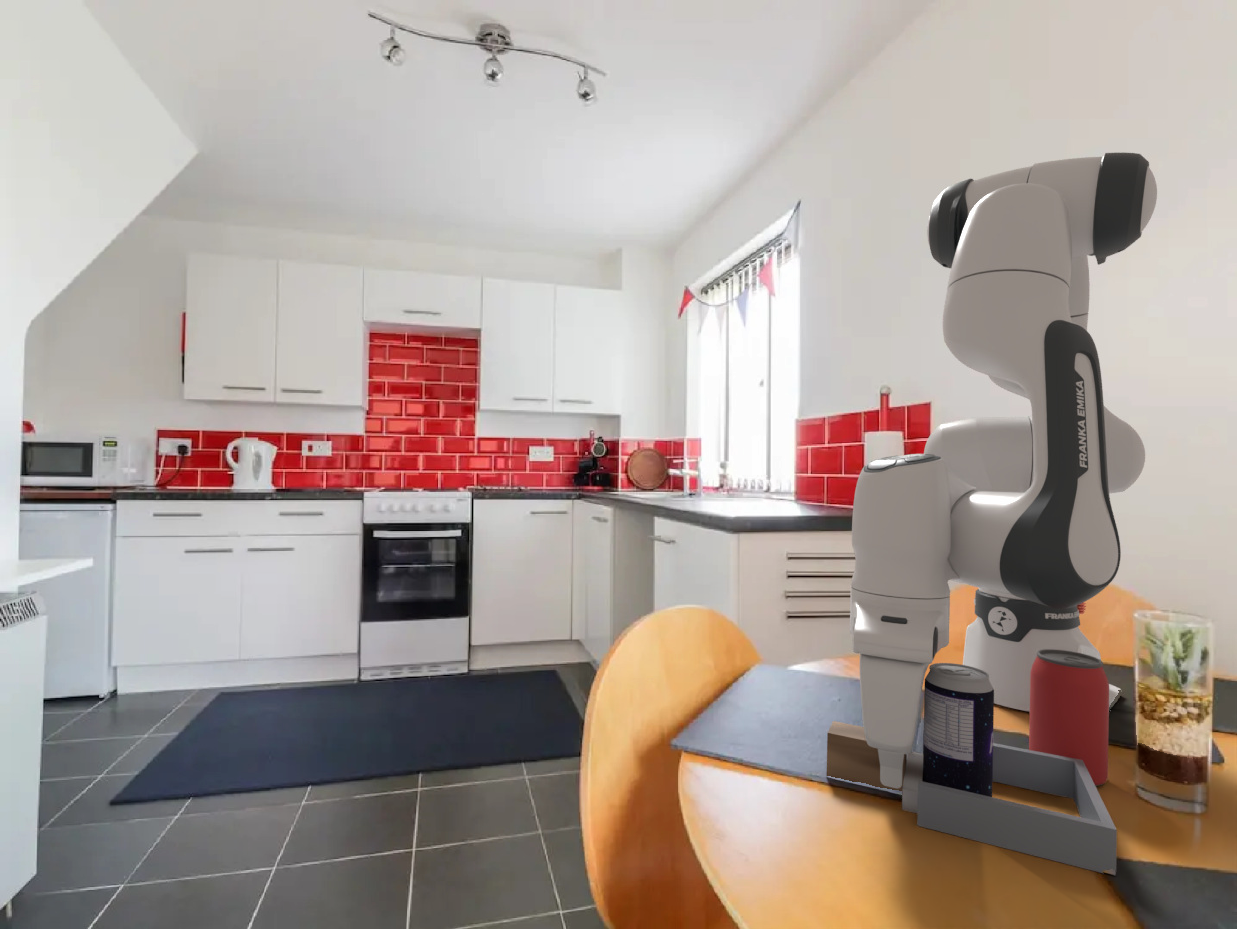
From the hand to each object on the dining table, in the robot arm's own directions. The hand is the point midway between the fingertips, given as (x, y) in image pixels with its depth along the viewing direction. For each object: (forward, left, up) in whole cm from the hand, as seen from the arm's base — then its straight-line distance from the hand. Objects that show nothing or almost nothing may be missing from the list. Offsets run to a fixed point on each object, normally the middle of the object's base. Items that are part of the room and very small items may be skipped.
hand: (895, 763), depth 61 cm
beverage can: (-3, +5, -2) cm, 6 cm away
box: (-5, +8, -2) cm, 9 cm away
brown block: (+1, -2, -2) cm, 3 cm away
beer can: (-18, +7, -2) cm, 20 cm away
